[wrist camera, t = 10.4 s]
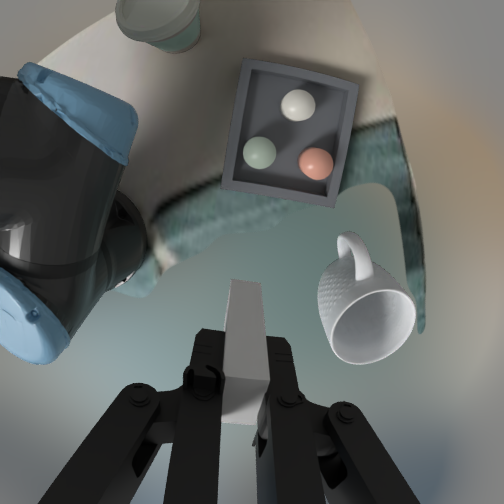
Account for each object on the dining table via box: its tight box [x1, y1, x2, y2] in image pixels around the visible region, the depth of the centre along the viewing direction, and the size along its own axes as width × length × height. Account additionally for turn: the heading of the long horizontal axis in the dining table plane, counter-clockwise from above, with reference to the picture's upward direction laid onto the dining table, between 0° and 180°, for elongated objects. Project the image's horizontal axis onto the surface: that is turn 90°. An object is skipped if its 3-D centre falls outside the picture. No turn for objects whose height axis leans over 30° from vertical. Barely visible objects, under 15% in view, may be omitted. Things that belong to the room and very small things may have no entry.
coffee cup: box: [115, 0, 201, 53], centre depth 23 cm, size 8×9×12 cm
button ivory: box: [280, 89, 315, 122], centre depth 30 cm, size 4×4×3 cm
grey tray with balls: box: [221, 58, 359, 208], centre depth 33 cm, size 14×16×3 cm
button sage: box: [243, 137, 276, 169], centre depth 32 cm, size 4×4×3 cm
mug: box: [317, 232, 416, 364], centre depth 36 cm, size 15×11×13 cm
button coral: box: [297, 147, 333, 180], centre depth 33 cm, size 4×4×3 cm
